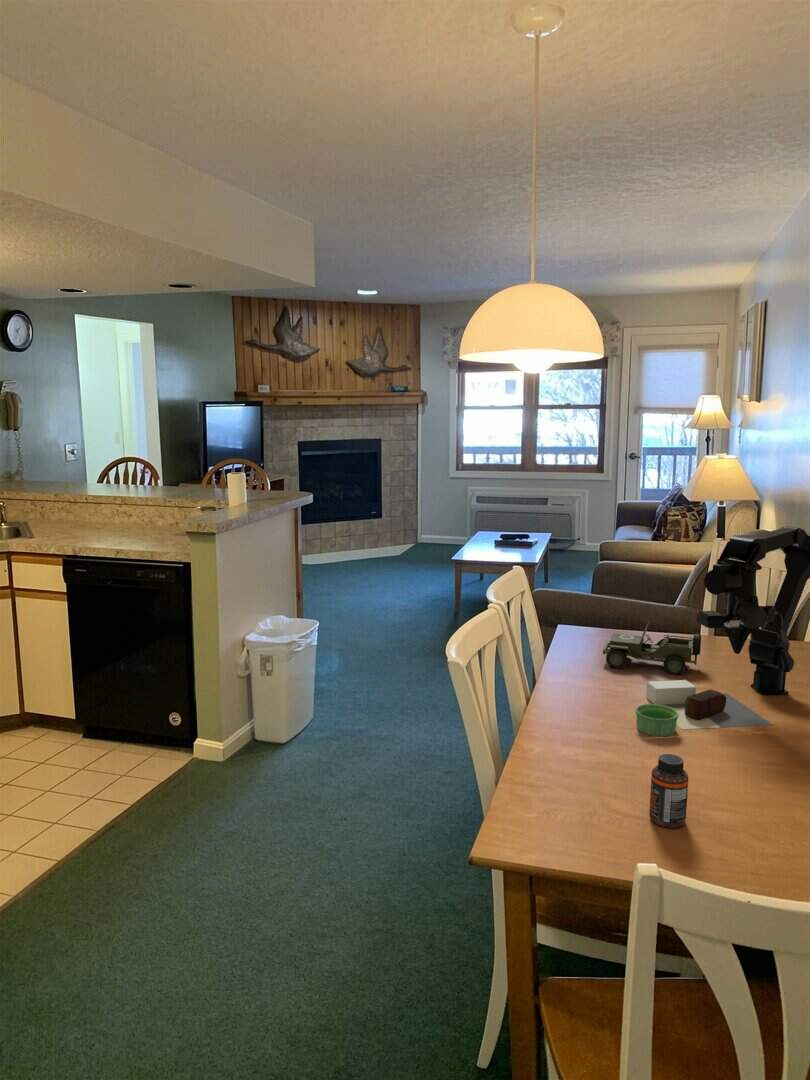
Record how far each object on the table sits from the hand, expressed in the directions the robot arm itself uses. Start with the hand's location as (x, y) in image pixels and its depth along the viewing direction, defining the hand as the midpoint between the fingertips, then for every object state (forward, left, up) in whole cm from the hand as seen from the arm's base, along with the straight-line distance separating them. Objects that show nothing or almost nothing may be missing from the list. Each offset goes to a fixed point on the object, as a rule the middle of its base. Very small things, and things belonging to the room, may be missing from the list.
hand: (736, 653), depth 186 cm
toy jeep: (+8, -28, -12) cm, 32 cm away
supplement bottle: (+41, +51, -12) cm, 67 cm away
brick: (+11, +7, -12) cm, 18 cm away
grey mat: (+9, +5, -12) cm, 16 cm away
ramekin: (+26, +14, -12) cm, 32 cm away
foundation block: (+15, -2, -12) cm, 19 cm away
